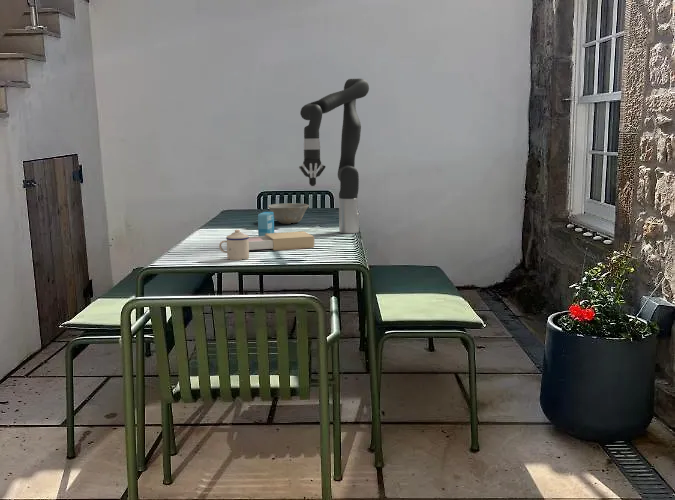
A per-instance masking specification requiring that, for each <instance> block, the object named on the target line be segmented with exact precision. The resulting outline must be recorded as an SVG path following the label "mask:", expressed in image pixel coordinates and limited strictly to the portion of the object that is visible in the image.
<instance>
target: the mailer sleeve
mask: <svg viewBox="0 0 675 500" xmlns="http://www.w3.org/2000/svg"><path fill="white" fill-rule="evenodd" d="M265 236H268V237H270V238H271V239H273V248H272V249H271V250H273V251H283V250H286V251H287V250H298V249H300V250H301V249H312V248H315V246H314V238H315V236H314V235H313V234H311V233H308V232H307V231H303V230H302V231H288V232H274V233H268V234H265Z"/></svg>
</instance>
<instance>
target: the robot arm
mask: <svg viewBox="0 0 675 500" xmlns="http://www.w3.org/2000/svg"><path fill="white" fill-rule="evenodd" d="M369 90H370V86H369V82H368V80H366V79H364V78H348V79H346V81H345V82H344V86H343V89H342V90H340V91H336V92H333V93H330V94H327V95H325V96H323V97H321V98H320V99H318V100H314V101H311V102H309V103H307V104H305V105H303V106H302V107H301V108H300V116H301V119H303V120H305V121H309V122H308V125H305V126H304V129H303V163H302V164H301V165H299V166H298V169H299V170H300V171H301V172H302V174H303V175H304V176H305V177H308V183H309V186H310V187H315V186H316V185H317V178H318V177H320V176H321V175H322V173H323V172H324V171H325V169H326V165H324V164H323V163H322V161H321V141H320V127H321V123H322V118H323V115H324V114H327V113H329V112H331V111H333V110H335V109H337V108H339V107H340V106H342V105H343V114H342V115H343V116H342V125H341V126H342V127H341V128H342V129H341V141H340V142H341V143H340V160H339V165H338V169H337V178H338V180H339V182H340V183H339V184H340V185H339V188H340V189H339V193H338V222H339V223H338V225H339V228H338V229H339V233H340V234H355V233H356V234H357V233H360V213H358V194H359V188H360V187H359V185H360V184H359V183H360V181H359V180H360V178H359V177H360V176H359V171H358V170H357V168H356V167H355V165H356V164H355V162H356V160H355V159H356V154H357V150H358V147H359V145H360V142H361V141H360V140H361V131H362V125H361V120H360V118H359V116H358V113H357V109H356V108H357V107H356V105H357V100H358V99H359V100H360V99H362V98H364V97H366V96H367V95H368V93H369ZM318 169H319V170H318ZM306 170H307V171H306Z"/></svg>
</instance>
